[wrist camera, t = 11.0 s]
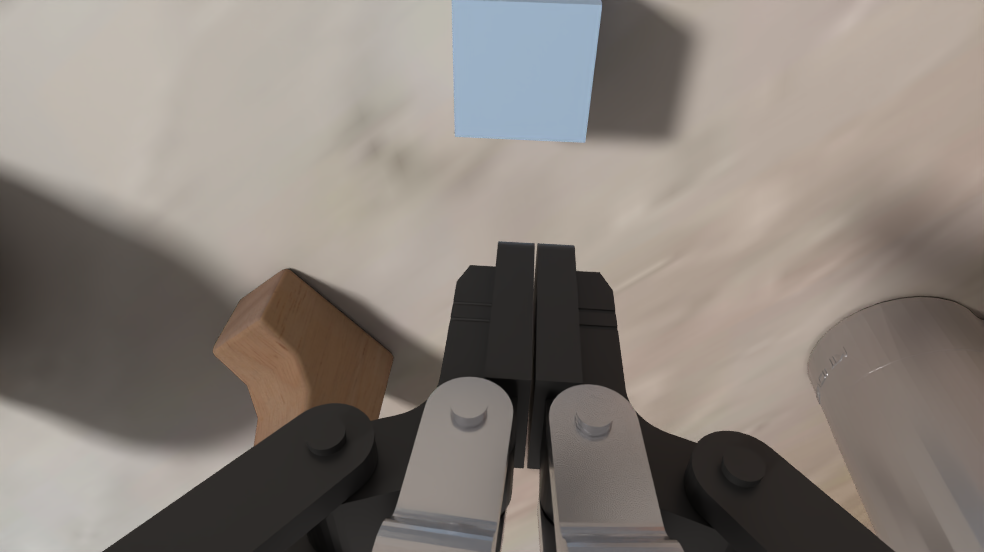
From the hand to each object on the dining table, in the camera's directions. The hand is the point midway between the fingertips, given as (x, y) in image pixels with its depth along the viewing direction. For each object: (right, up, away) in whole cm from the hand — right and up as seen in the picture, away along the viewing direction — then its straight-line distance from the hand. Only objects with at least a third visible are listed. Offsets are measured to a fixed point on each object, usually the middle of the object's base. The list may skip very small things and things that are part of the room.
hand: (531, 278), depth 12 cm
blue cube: (+1, +10, +13) cm, 17 cm away
